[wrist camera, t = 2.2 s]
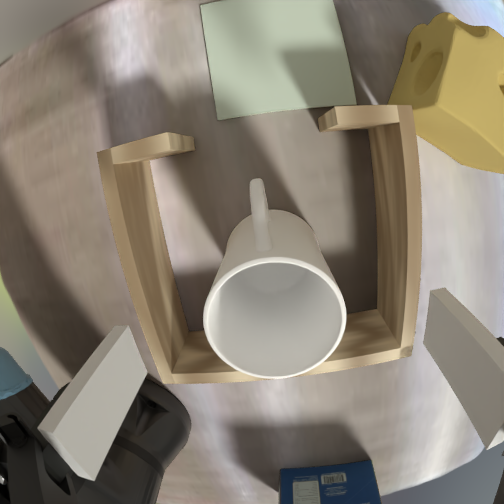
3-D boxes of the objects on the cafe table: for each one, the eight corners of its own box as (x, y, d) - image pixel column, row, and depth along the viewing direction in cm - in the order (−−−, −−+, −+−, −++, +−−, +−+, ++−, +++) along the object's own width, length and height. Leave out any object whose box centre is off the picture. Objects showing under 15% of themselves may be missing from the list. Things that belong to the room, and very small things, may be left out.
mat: (218, 120, 24) (217, 120, 24) (201, 7, 21) (200, 5, 20) (355, 105, 23) (356, 104, 23) (329, -7, 20) (329, -9, 19)
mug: (217, 175, 26) (178, 193, 14) (316, 169, 25) (355, 182, 14) (231, 299, 29) (210, 383, 18) (319, 294, 29) (344, 376, 17)
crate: (181, 341, 31) (163, 383, 25) (135, 150, 25) (96, 152, 19) (387, 316, 29) (411, 355, 23) (378, 115, 23) (411, 105, 17)
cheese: (406, 32, 20) (457, -7, 11) (486, 89, 21) (549, 80, 11) (376, 118, 23) (430, 103, 14) (462, 172, 24) (529, 186, 15)
